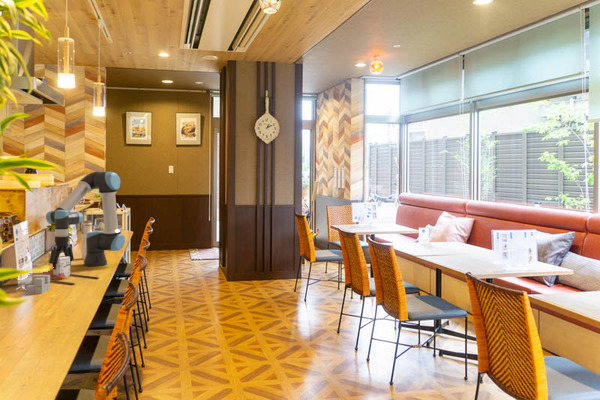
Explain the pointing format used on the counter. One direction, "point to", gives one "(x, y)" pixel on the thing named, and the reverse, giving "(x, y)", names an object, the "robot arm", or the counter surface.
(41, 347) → the counter surface
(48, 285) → the puzzle cube
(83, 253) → the water bottle
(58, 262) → the ink box
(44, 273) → the end stop
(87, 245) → the robot arm
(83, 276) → the guide rails
